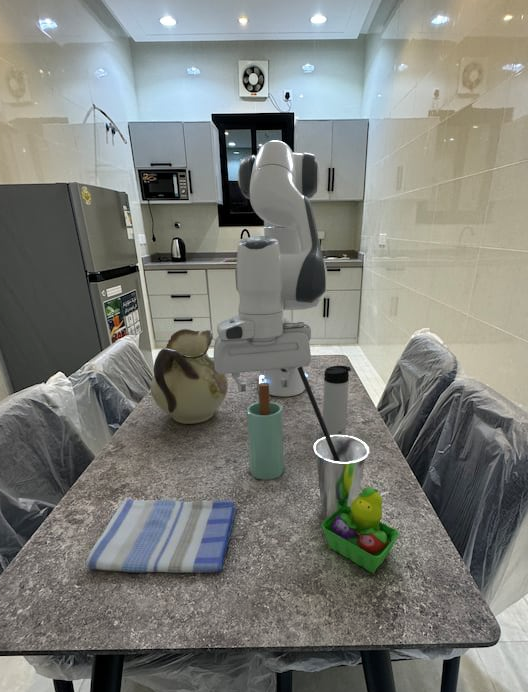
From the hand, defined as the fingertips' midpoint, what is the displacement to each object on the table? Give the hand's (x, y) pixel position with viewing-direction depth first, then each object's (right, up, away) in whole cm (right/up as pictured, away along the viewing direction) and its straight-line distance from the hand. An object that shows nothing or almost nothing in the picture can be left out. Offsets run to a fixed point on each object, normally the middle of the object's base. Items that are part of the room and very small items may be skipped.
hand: (263, 388), depth 82 cm
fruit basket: (+17, -29, -15) cm, 37 cm away
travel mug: (+18, -13, +22) cm, 32 cm away
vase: (0, -19, +8) cm, 21 cm away
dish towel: (-17, -28, -11) cm, 35 cm away
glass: (+14, -25, -6) cm, 30 cm away
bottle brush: (0, -18, +8) cm, 20 cm away
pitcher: (-23, -8, +35) cm, 43 cm away
